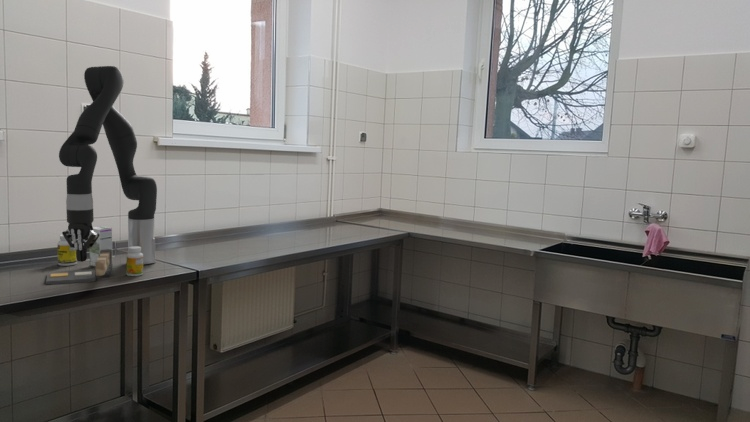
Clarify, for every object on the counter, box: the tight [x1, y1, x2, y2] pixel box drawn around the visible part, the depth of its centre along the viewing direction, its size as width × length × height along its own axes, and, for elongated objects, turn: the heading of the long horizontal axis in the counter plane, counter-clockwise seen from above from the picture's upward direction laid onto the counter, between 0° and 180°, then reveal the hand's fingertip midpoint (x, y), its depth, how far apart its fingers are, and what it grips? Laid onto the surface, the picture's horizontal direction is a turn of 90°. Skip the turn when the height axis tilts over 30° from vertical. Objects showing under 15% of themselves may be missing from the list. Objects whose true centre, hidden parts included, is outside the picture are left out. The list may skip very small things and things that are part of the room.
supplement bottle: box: [126, 246, 144, 277], centre depth 190 cm, size 5×5×10 cm
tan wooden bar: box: [95, 249, 113, 277], centre depth 179 cm, size 21×4×5 cm, turn 21°
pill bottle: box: [57, 234, 78, 267], centre depth 201 cm, size 6×6×11 cm
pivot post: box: [99, 264, 114, 278], centre depth 187 cm, size 4×4×4 cm
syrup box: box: [88, 225, 114, 268], centre depth 201 cm, size 6×6×14 cm
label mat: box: [45, 268, 96, 285], centre depth 182 cm, size 14×14×1 cm
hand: (81, 260), depth 175 cm, fingers closed
